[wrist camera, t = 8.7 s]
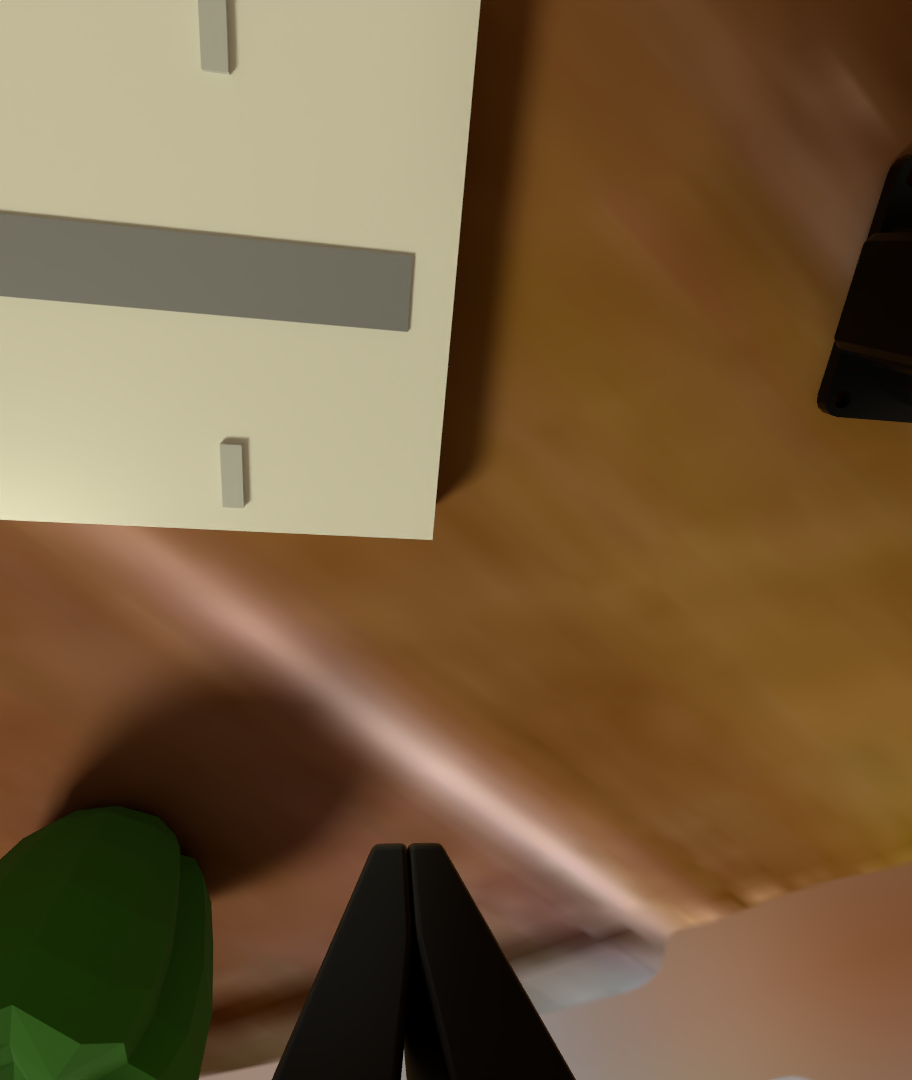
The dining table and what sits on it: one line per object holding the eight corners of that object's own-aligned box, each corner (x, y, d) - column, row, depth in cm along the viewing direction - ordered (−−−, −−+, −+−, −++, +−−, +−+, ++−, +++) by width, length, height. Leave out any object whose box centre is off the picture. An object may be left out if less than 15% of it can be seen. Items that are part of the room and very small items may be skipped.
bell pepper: (-65, 818, 22) (-378, 1224, 13) (163, 739, 22) (5, 1100, 13) (77, 964, 26) (-90, 1363, 16) (275, 898, 25) (215, 1270, 16)
